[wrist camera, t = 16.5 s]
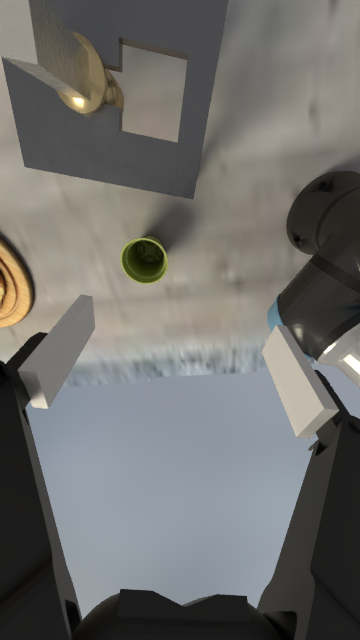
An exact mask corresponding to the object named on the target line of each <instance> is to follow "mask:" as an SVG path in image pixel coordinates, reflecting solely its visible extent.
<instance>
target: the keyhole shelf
mask: <svg viewBox="0 0 360 640" xmlns="http://www.w3.org/2000/svg"><path fill="white" fill-rule="evenodd" d="M45 2H46V3H47V4H48V5H49V6H50V8H51V9H52V10H53V11H54V12H55V13H56V15H57V16H58V17H59V18H60V19H61V21H62V22H63V23H64V24H65V25H66V26H67V28H68V29H69V30H70V31H71V32H76V33H78V34H80V35H82V36H83V37H85V38H86V39H87V40H88V41H89V42H90V43H91V44H92V46H93V47H94V48H95V50H96V51H97V52H98V54H99V56H100V57H101V59H102V62H103V64H104V67H105V69H109V70H114V71H118V72H122V44H123V45H127V46H132V47H136V48H140V49H144V50H148V51H152V52H157V53H161V54H165V55H169V56H173V57H177V58H182V59H186V60H188V63H187V71H186V79H185V88H184V96H183V104H182V112H181V120H180V129H179V137H178V143H176V142H172V141H167V140H162V139H157V138H152V137H148V136H143V135H138V134H133V133H129V132H124V131H122V109H121V108H119V107H117V106H112V105H107V104H103V106H102V107H101V108H100V109H99V110H98V111H97V112H95V113H93V114H82V113H79V112H77V111H75V110H73V109H72V108H70V107H69V106H68V105H66V104H65V103H64V102H63V100H62V99H61V98H60V96H59V95H58V93H57V91H56V90H55V89H54V88H53V87H51V86H49V85H48V84H46V83H44V82H43V81H41V80H39V79H38V78H36V77H34V76H33V75H31V74H29V73H28V72H26V71H24V70H23V69H21V68H19V67H18V66H16V65H14V64H13V63H11V62H9V61H8V60H6V59H4V58H3V57H2V62H3V67H4V71H5V76H6V81H7V86H8V90H9V95H10V100H11V104H12V109H13V114H14V119H15V123H16V128H17V133H18V137H19V142H20V147H21V152H22V156H23V161H24V166H25V167H27V168H33V169H38V170H43V171H48V172H54V173H59V174H64V175H69V176H74V177H80V178H85V179H90V180H95V181H100V182H106V183H111V184H116V185H121V186H127V187H132V188H137V189H142V190H147V191H153V192H158V193H163V194H168V195H173V196H179V197H184V198H189V199H193V198H194V192H195V187H196V181H197V175H198V170H199V164H200V158H201V152H202V147H203V141H204V135H205V130H206V124H207V118H208V113H209V107H210V101H211V95H212V90H213V84H214V78H215V73H216V67H217V61H218V55H219V50H220V44H221V38H222V33H223V27H224V21H225V16H226V10H227V4H228V0H45Z"/></svg>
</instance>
